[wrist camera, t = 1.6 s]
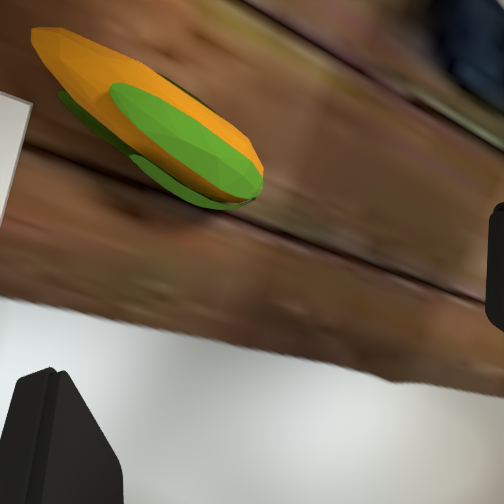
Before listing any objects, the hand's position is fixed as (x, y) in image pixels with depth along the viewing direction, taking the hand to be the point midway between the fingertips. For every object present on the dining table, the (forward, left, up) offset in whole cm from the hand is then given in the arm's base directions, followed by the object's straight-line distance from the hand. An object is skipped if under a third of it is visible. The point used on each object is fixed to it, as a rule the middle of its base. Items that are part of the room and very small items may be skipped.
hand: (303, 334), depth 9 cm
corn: (0, 0, -32) cm, 32 cm away
